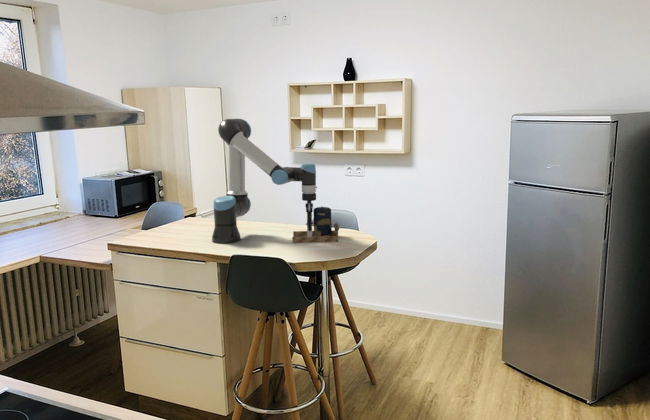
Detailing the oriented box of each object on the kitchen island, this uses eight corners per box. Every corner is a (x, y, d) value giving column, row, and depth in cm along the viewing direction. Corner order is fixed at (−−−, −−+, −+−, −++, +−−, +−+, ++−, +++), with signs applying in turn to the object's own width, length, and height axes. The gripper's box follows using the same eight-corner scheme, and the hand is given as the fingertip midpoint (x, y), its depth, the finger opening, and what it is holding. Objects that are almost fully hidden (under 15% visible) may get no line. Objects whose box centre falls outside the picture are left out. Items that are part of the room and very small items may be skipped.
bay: (292, 242, 274) (292, 227, 273) (293, 236, 290) (293, 221, 288) (339, 241, 275) (339, 226, 274) (337, 235, 290) (337, 220, 289)
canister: (332, 237, 287) (332, 204, 284) (330, 241, 277) (330, 207, 274) (315, 237, 288) (314, 204, 285) (312, 240, 278) (312, 207, 275)
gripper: (316, 194, 272) (316, 238, 276) (315, 191, 285) (316, 233, 289) (301, 194, 272) (302, 239, 276) (302, 191, 284) (302, 233, 288)
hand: (309, 236), depth 282 cm, fingers closed
